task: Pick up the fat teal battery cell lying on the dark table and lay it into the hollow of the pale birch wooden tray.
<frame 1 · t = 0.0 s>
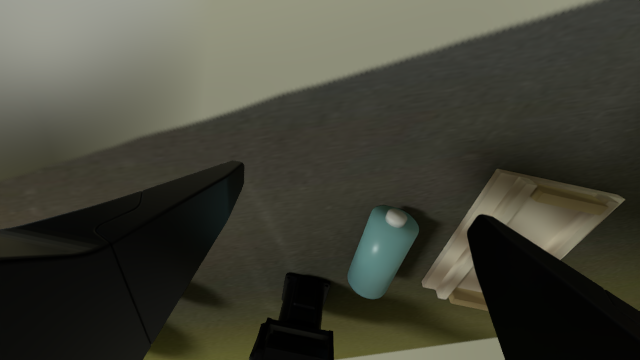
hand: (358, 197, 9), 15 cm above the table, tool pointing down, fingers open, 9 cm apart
wooden tray: (503, 245, 28), on the table
battery cell: (377, 237, 30), on the table
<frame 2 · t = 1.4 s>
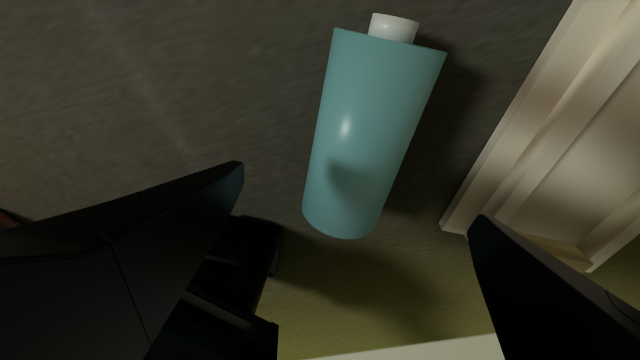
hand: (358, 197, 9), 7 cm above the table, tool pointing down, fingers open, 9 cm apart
supplement bottle: (6, 224, 25), on the table
wooden tray: (610, 129, 14), on the table
battery cell: (357, 126, 16), on the table
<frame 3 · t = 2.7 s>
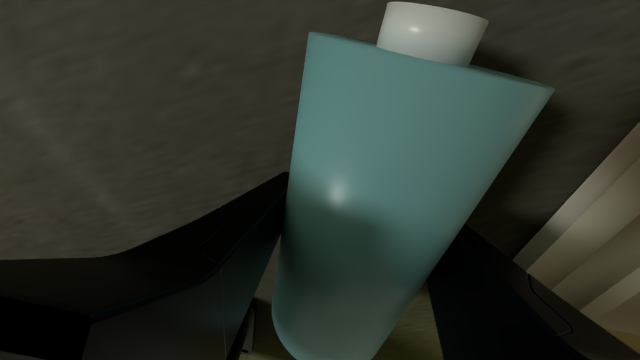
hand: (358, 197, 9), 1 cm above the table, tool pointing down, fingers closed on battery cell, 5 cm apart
battery cell: (357, 181, 10), on the table, touching gripper
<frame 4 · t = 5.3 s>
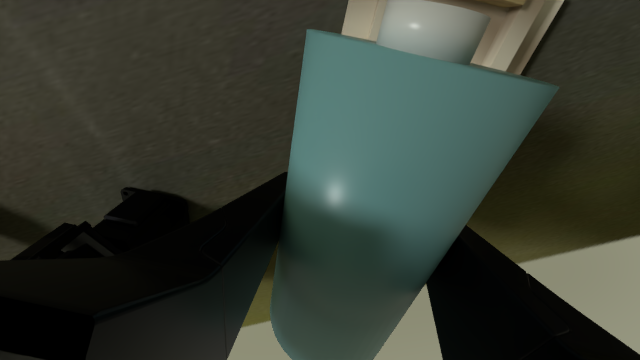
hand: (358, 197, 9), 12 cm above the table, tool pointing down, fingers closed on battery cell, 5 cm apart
wooden tray: (402, 118, 19), on the table
battery cell: (356, 181, 10), point 10 cm above the table, touching gripper
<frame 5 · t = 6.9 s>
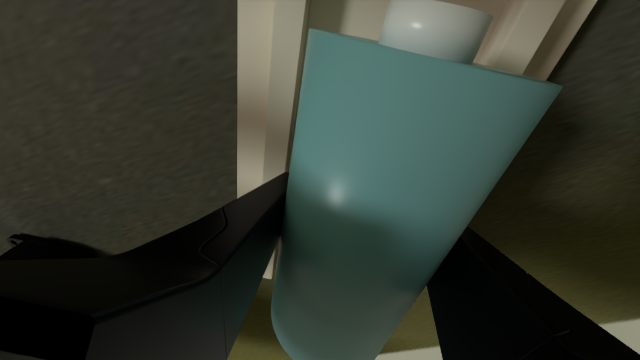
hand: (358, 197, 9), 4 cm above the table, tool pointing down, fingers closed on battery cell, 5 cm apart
wooden tray: (357, 152, 13), on the table
battery cell: (357, 181, 10), point 3 cm above the table, touching gripper
when the fingers open (3 cm above the table, at t = 7.8 s): battery cell drops 2 cm, resting on wooden tray.
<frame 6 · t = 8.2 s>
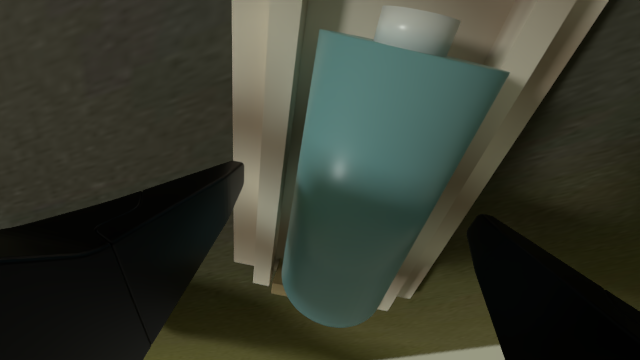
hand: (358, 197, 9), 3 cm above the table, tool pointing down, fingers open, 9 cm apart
wooden tray: (357, 156, 12), on the table
battery cell: (356, 162, 12), point 1 cm above the table, touching wooden tray
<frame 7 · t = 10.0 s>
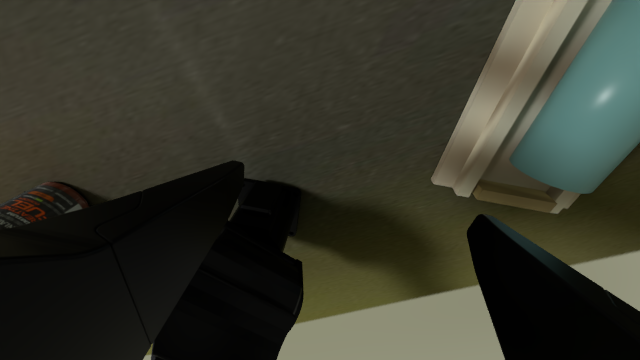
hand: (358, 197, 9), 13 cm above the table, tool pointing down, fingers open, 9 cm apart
supplement bottle: (70, 198, 30), on the table
wooden tray: (563, 90, 18), on the table
battery cell: (570, 92, 17), point 1 cm above the table, touching wooden tray
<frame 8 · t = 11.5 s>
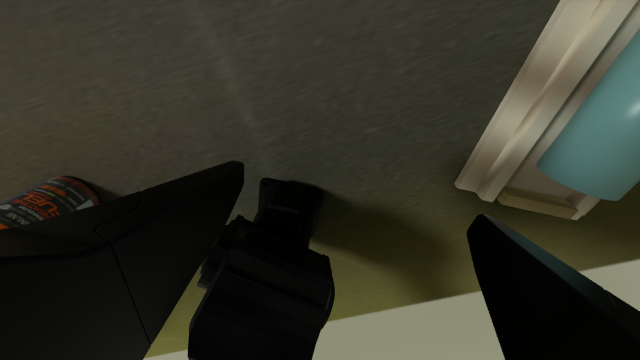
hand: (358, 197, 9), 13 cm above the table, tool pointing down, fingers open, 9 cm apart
supplement bottle: (80, 194, 29), on the table
wooden tray: (589, 101, 18), on the table
battery cell: (598, 103, 18), point 1 cm above the table, touching wooden tray
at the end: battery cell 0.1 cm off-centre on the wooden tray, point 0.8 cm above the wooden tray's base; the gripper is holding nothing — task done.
